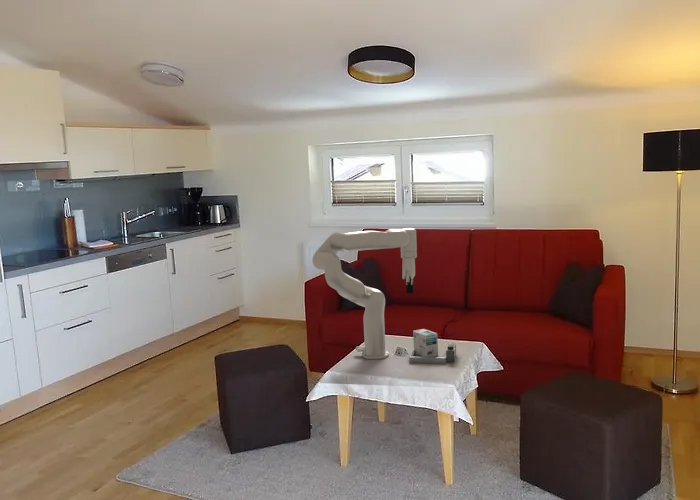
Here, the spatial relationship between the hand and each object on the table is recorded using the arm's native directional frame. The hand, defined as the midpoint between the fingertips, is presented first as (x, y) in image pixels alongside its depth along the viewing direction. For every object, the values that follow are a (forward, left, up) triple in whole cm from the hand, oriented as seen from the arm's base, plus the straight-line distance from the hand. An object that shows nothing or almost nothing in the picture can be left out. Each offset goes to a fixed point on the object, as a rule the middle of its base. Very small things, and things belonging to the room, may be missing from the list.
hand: (410, 292), depth 294 cm
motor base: (+12, -15, -27) cm, 33 cm away
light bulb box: (+8, -10, -27) cm, 30 cm away
